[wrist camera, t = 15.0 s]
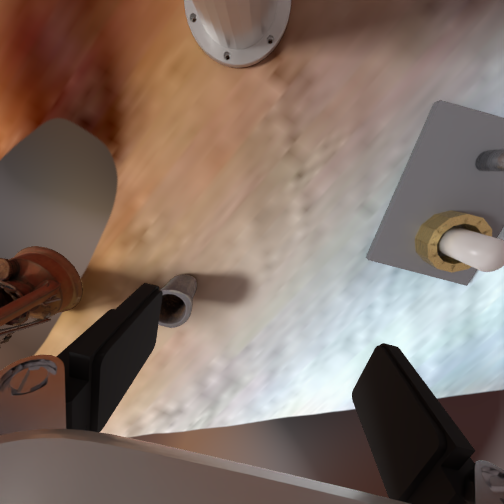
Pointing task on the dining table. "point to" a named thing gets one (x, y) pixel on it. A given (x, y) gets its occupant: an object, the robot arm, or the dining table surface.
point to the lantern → (36, 287)
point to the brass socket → (433, 232)
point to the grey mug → (177, 300)
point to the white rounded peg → (472, 248)
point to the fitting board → (443, 186)
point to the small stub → (490, 160)
